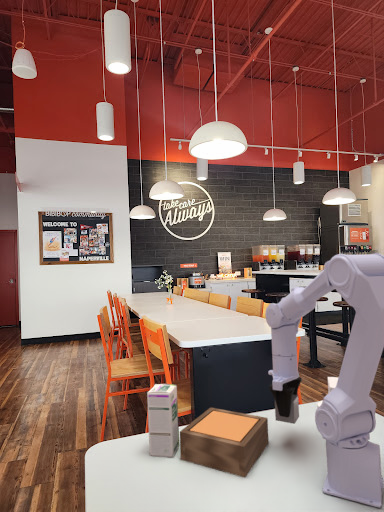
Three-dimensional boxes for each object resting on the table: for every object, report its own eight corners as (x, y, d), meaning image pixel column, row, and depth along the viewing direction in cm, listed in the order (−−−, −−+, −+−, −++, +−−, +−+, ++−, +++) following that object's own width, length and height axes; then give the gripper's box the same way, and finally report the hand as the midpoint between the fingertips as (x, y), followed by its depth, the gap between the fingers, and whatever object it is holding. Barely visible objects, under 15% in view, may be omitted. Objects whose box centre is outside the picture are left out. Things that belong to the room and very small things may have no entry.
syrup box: (173, 458, 78) (171, 392, 78) (148, 456, 79) (146, 391, 80) (179, 445, 83) (177, 383, 84) (156, 443, 85) (154, 383, 85)
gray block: (299, 416, 83) (298, 395, 83) (294, 423, 79) (293, 401, 79) (280, 413, 85) (279, 392, 85) (275, 420, 81) (274, 398, 81)
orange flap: (258, 423, 82) (258, 419, 82) (239, 446, 72) (239, 441, 72) (213, 414, 88) (213, 410, 88) (189, 434, 78) (189, 430, 78)
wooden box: (268, 443, 83) (267, 417, 83) (245, 477, 70) (244, 446, 70) (211, 430, 90) (210, 407, 91) (180, 459, 77) (179, 431, 77)
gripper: (276, 346, 91) (279, 399, 90) (258, 359, 78) (260, 420, 78) (304, 348, 88) (307, 403, 87) (289, 362, 75) (292, 426, 74)
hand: (287, 412), depth 82 cm, fingers closed on gray block, 4 cm apart
